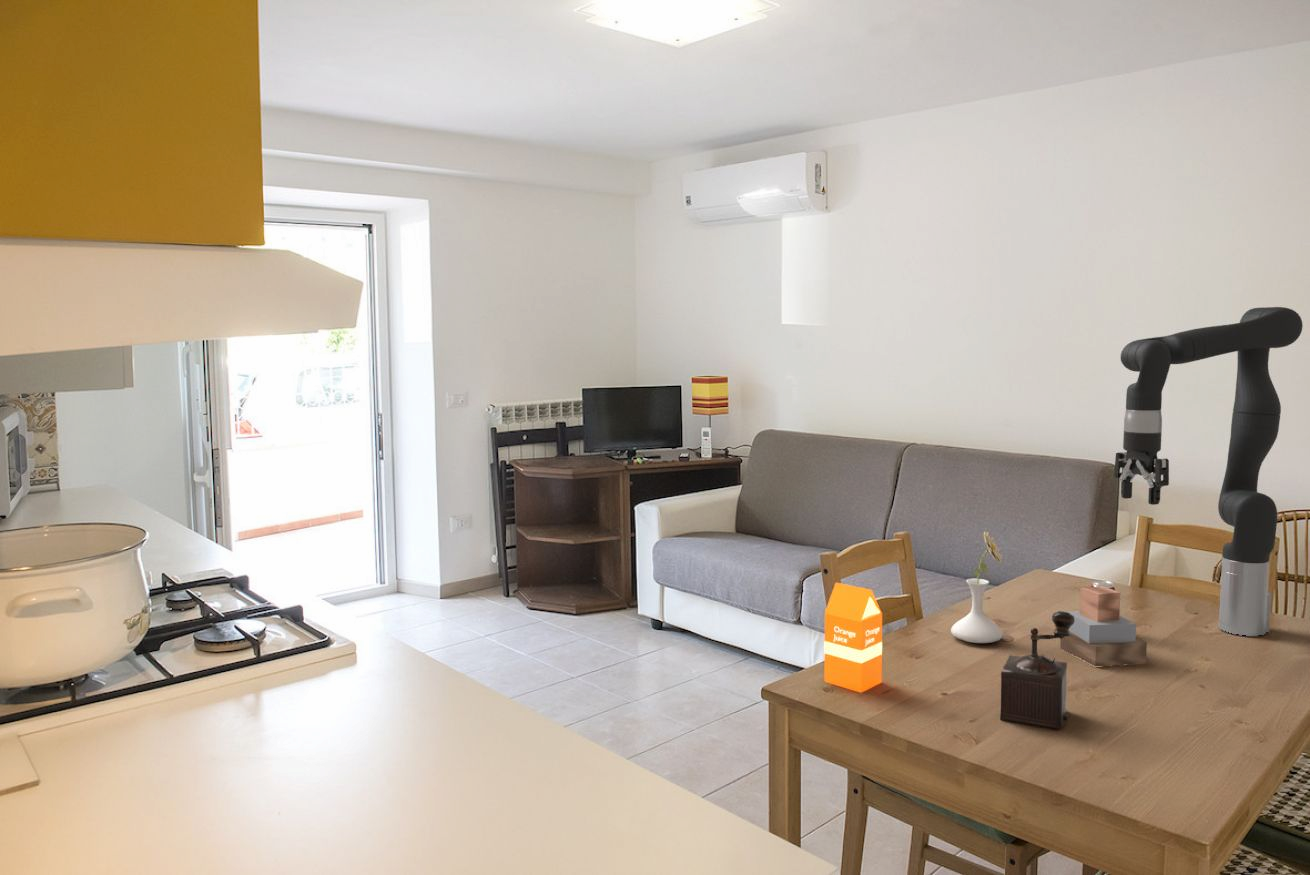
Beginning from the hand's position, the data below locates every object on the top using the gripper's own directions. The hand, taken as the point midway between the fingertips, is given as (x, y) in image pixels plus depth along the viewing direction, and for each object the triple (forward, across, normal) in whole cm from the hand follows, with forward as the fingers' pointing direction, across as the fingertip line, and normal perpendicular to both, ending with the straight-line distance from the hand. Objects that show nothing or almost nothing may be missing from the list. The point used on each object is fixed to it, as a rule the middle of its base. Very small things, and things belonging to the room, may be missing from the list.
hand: (1139, 501), depth 207 cm
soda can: (+32, +6, +4) cm, 33 cm away
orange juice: (+32, -9, +73) cm, 80 cm away
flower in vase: (+32, +9, +34) cm, 48 cm away
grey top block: (+28, -8, +15) cm, 32 cm away
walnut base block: (+33, -8, +14) cm, 37 cm away
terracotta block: (+24, -7, +15) cm, 29 cm away
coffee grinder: (+32, -31, +46) cm, 64 cm away
